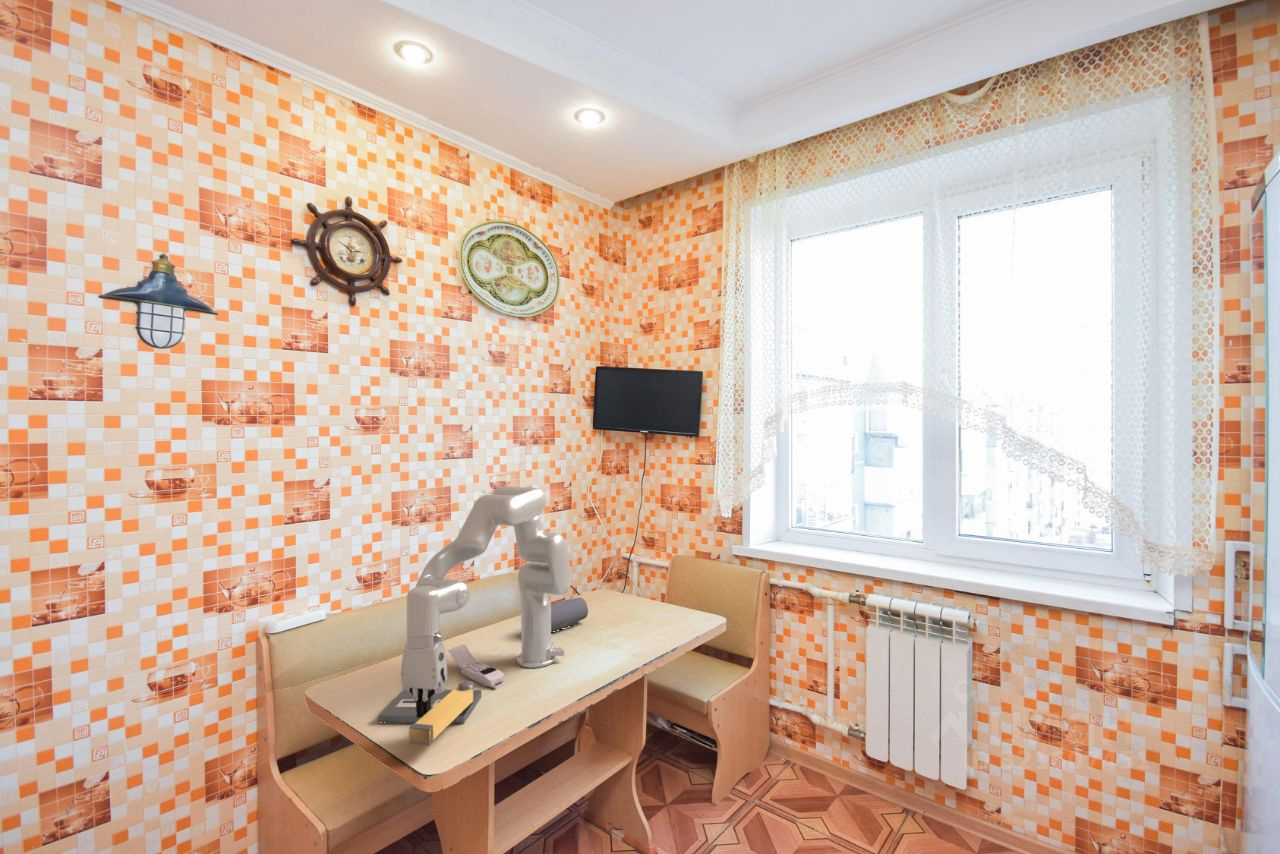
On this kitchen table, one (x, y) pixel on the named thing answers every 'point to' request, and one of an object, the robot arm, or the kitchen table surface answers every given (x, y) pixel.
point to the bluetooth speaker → (567, 613)
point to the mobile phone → (476, 667)
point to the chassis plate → (405, 708)
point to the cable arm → (442, 714)
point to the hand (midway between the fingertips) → (423, 715)
